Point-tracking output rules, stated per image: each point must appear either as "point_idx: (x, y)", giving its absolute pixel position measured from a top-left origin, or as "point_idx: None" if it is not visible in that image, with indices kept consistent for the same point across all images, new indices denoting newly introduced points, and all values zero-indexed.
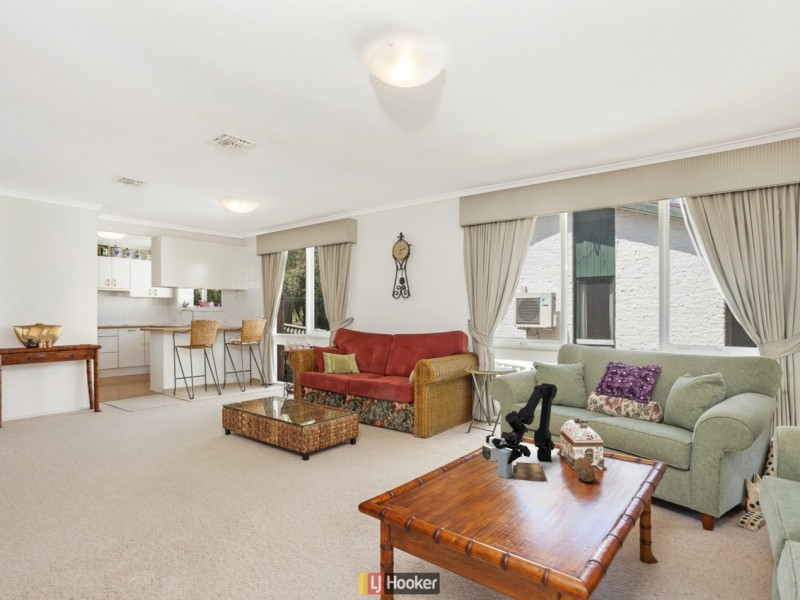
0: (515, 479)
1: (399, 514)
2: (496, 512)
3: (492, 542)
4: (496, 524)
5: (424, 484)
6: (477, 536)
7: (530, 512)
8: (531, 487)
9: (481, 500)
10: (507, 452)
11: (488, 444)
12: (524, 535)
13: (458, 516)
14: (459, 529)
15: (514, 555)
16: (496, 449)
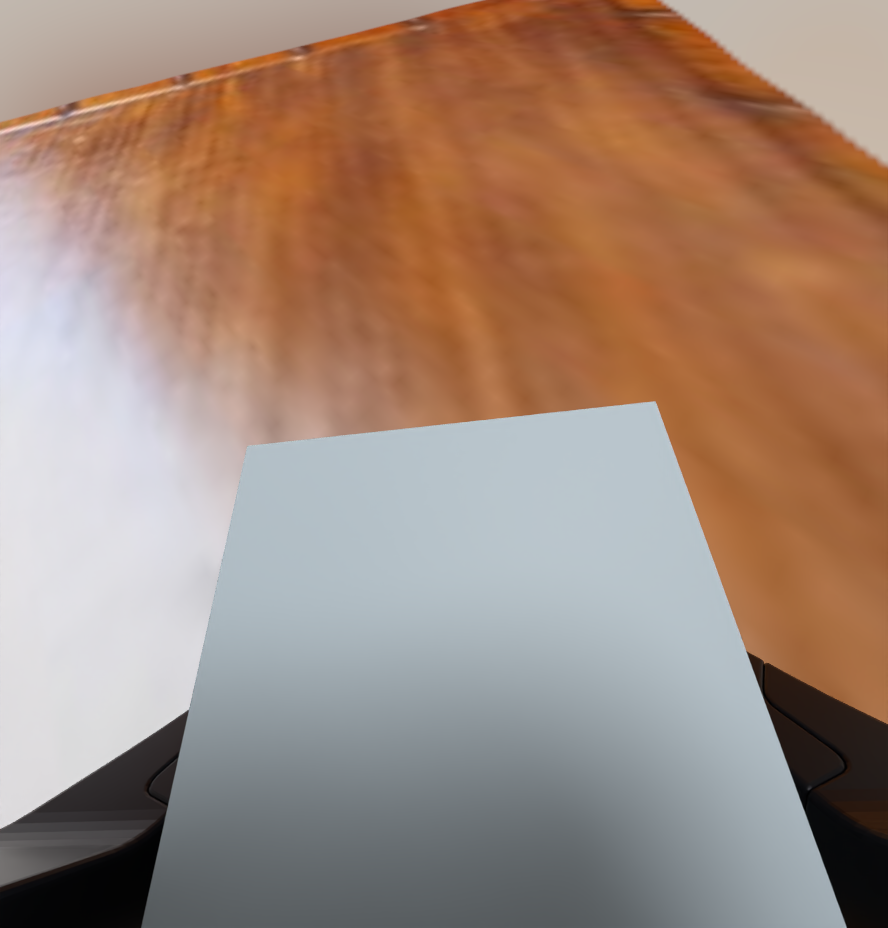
0: None
1: (469, 9)
2: (190, 199)
3: (123, 111)
4: (151, 158)
5: (704, 106)
6: (178, 98)
7: (32, 302)
8: (94, 641)
9: (318, 212)
10: (236, 509)
11: None
12: (31, 183)
13: (305, 102)
14: (248, 81)
15: (43, 121)
16: None
